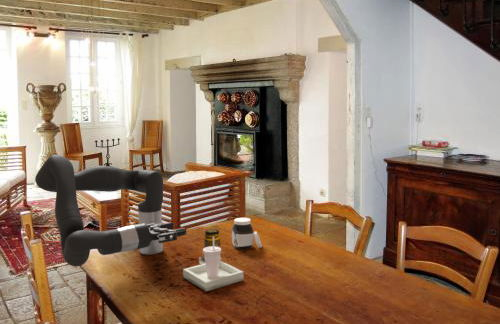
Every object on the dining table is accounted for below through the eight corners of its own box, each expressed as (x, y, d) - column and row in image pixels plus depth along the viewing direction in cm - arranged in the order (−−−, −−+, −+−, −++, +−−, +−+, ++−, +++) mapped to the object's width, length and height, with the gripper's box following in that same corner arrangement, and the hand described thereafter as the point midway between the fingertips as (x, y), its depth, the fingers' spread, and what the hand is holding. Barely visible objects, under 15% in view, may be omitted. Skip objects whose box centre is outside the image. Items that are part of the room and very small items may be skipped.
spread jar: (229, 244, 200) (229, 217, 199) (253, 241, 205) (253, 214, 203) (241, 253, 190) (240, 225, 188) (266, 249, 194) (266, 221, 193)
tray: (183, 277, 165) (183, 269, 165) (219, 267, 174) (219, 259, 174) (206, 291, 153) (206, 282, 153) (243, 280, 162) (243, 271, 162)
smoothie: (219, 280, 160) (218, 240, 158) (200, 278, 161) (200, 239, 159) (224, 273, 166) (223, 234, 164) (206, 271, 167) (205, 233, 165)
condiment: (222, 263, 179) (221, 232, 177) (199, 264, 178) (198, 233, 176) (220, 256, 186) (220, 227, 184) (198, 257, 185) (198, 228, 183)
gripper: (123, 243, 151) (169, 234, 160) (142, 255, 140) (190, 244, 149) (122, 220, 150) (168, 212, 159) (141, 231, 138) (189, 221, 148)
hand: (179, 228), depth 154 cm, fingers open, 8 cm apart
